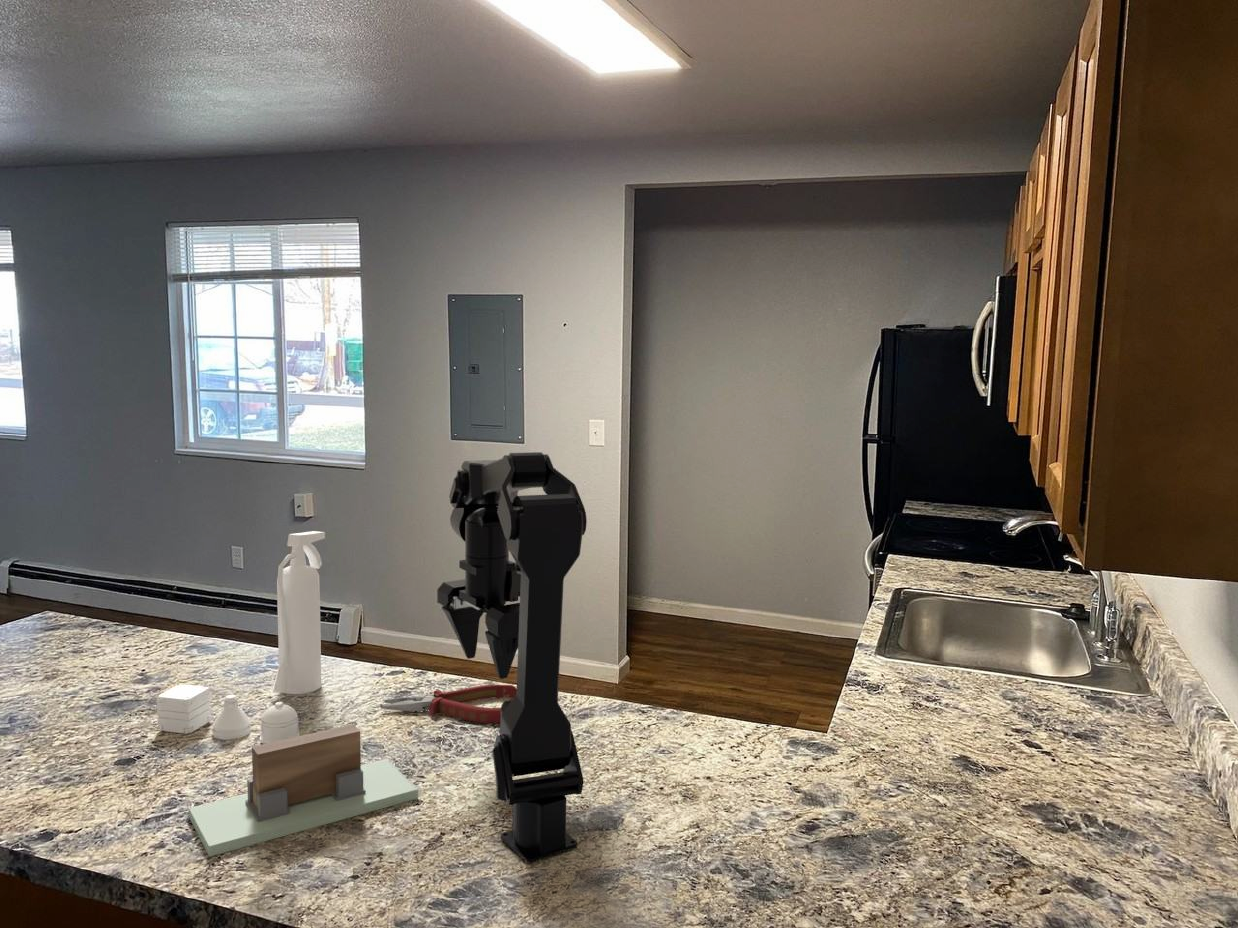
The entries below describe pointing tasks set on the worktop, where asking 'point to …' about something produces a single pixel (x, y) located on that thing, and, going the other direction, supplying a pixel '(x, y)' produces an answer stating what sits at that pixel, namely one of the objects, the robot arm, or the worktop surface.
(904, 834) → the worktop surface
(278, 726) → the container set
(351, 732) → the brown wooden block
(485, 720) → the pliers
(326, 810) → the hinge base
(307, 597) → the white plastic tall bottle
